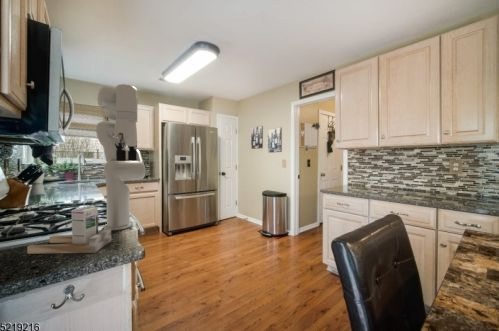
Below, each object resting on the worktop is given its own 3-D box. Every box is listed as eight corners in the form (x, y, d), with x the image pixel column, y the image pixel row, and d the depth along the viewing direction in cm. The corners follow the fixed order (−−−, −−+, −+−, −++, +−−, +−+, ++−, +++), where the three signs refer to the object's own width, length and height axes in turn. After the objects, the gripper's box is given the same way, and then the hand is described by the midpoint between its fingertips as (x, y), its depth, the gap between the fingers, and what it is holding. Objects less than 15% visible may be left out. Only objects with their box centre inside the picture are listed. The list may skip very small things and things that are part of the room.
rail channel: (52, 241, 88) (52, 229, 88) (111, 240, 90) (111, 228, 90) (27, 253, 77) (27, 239, 77) (94, 252, 79) (94, 238, 79)
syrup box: (85, 250, 81) (84, 210, 80) (71, 248, 82) (71, 209, 82) (98, 244, 87) (98, 207, 86) (85, 242, 88) (85, 206, 87)
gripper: (127, 120, 98) (127, 160, 98) (104, 113, 80) (105, 161, 81) (144, 121, 98) (144, 160, 99) (126, 113, 81) (126, 161, 82)
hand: (127, 160), depth 90 cm, fingers open, 9 cm apart
